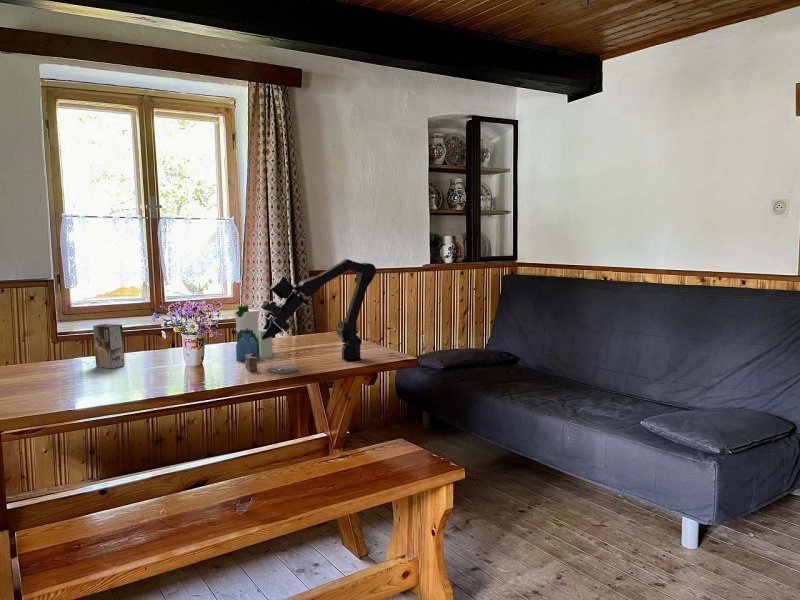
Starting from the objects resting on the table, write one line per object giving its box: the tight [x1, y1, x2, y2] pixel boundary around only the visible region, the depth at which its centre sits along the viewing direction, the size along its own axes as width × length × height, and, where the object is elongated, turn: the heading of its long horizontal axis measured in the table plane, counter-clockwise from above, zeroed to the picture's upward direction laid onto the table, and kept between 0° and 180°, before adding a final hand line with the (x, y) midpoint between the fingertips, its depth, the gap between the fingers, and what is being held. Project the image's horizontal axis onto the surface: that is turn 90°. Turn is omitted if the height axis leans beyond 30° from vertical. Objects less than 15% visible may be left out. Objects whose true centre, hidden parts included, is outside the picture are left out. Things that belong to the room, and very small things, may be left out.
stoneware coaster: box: [269, 365, 298, 374], centre depth 226 cm, size 10×10×1 cm
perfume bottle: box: [235, 329, 259, 362], centre depth 245 cm, size 6×6×12 cm
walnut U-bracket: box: [244, 354, 258, 373], centre depth 228 cm, size 3×9×5 cm, turn 24°
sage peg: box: [258, 328, 273, 359], centre depth 230 cm, size 4×4×10 cm
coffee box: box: [92, 323, 126, 369], centre depth 234 cm, size 9×6×16 cm
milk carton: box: [233, 305, 261, 353], centre depth 258 cm, size 9×9×20 cm
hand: (261, 338), depth 229 cm, fingers closed on sage peg, 4 cm apart
